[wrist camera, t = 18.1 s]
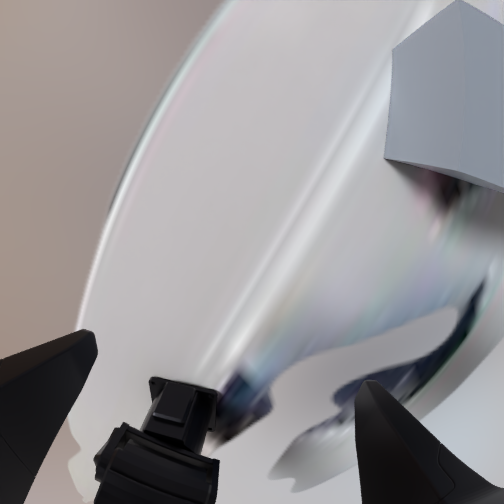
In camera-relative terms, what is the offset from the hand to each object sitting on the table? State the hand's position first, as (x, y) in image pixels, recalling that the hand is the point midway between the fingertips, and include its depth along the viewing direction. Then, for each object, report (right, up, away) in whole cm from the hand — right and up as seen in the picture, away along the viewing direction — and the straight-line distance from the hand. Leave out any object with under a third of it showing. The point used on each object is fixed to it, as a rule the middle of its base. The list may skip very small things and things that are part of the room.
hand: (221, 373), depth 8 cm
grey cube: (+13, +13, +7) cm, 20 cm away
